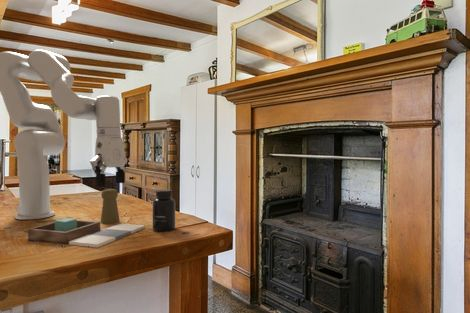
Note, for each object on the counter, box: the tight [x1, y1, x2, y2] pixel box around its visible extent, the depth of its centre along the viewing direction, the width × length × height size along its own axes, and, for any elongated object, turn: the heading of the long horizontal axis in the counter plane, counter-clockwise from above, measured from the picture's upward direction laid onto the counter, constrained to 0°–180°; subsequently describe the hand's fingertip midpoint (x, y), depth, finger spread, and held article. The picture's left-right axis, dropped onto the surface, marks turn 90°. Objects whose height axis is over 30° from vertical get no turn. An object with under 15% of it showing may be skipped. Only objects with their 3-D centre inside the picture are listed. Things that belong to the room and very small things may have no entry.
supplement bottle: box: [152, 188, 176, 233], centre depth 104 cm, size 7×7×12 cm
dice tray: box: [27, 219, 101, 245], centre depth 97 cm, size 13×13×3 cm
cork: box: [100, 188, 120, 225], centre depth 115 cm, size 6×6×11 cm
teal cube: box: [54, 217, 78, 232], centre depth 97 cm, size 4×4×4 cm
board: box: [68, 223, 146, 249], centre depth 97 cm, size 9×21×1 cm, turn 161°
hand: (111, 184), depth 115 cm, fingers open, 9 cm apart
